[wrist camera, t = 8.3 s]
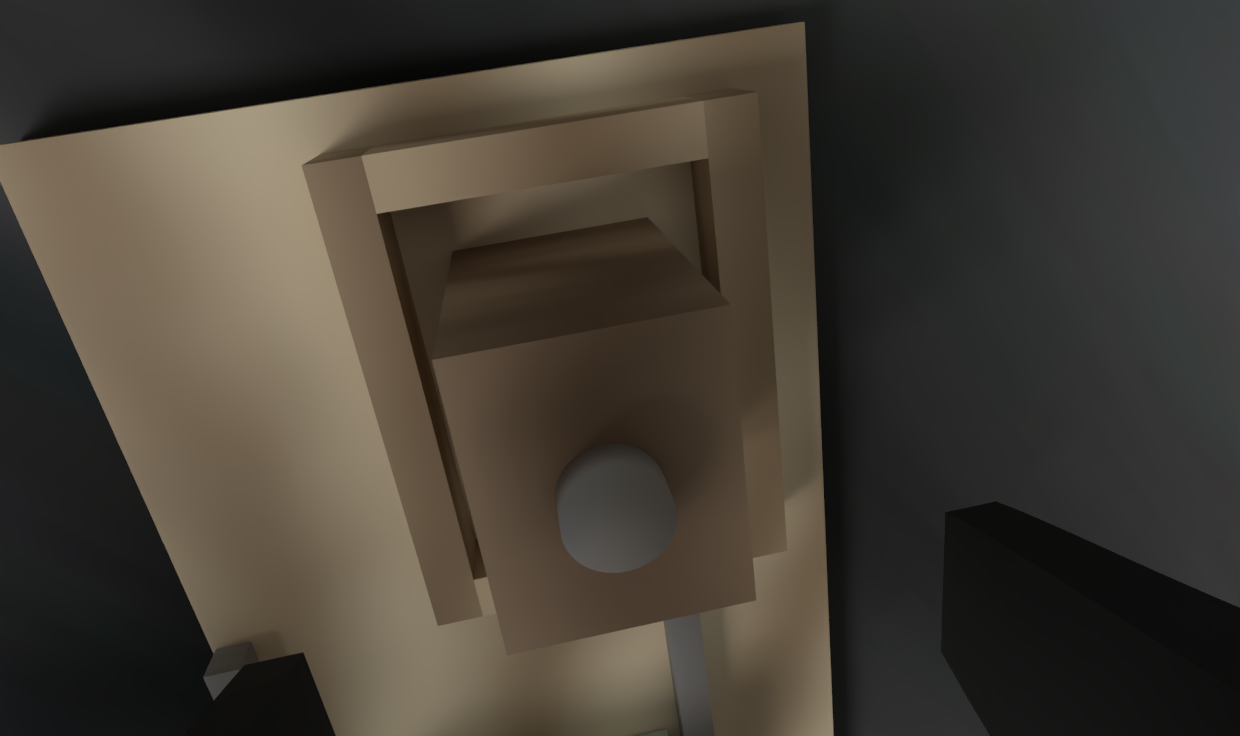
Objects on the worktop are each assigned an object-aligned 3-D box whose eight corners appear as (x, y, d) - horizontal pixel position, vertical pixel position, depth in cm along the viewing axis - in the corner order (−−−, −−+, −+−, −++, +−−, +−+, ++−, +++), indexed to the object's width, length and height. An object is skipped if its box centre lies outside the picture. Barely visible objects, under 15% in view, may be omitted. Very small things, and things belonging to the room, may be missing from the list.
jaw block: (502, 465, 17) (508, 694, 11) (452, 251, 15) (427, 383, 9) (674, 431, 18) (773, 635, 12) (647, 217, 16) (749, 323, 10)
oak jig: (343, 895, 23) (328, 987, 21) (17, 141, 14) (-72, 157, 12) (823, 778, 24) (857, 853, 22) (786, 23, 16) (836, 18, 14)
